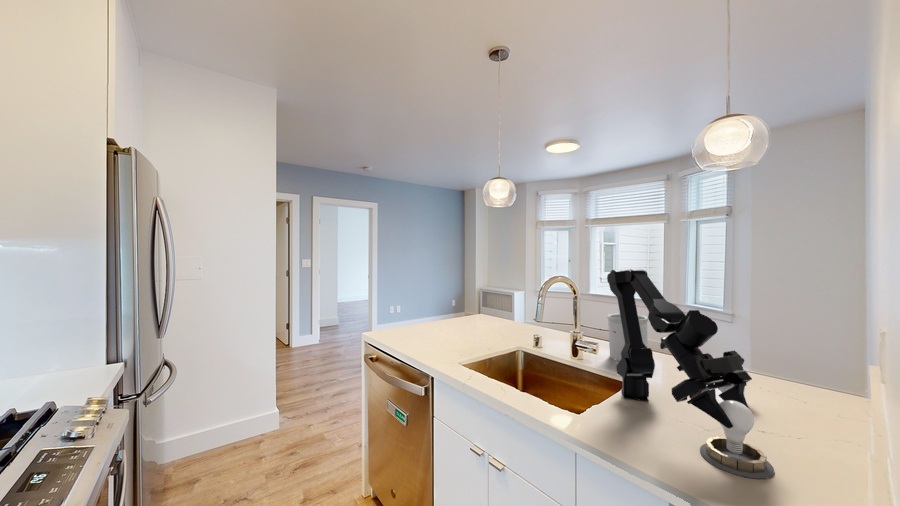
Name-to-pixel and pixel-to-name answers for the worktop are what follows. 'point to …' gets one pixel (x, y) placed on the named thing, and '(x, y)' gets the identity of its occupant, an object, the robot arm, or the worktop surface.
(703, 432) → the worktop surface
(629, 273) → the robot arm
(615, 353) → the utensil holder
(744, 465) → the socket collar
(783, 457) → the worktop surface
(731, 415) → the lightbulb
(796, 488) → the worktop surface
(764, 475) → the socket mat
